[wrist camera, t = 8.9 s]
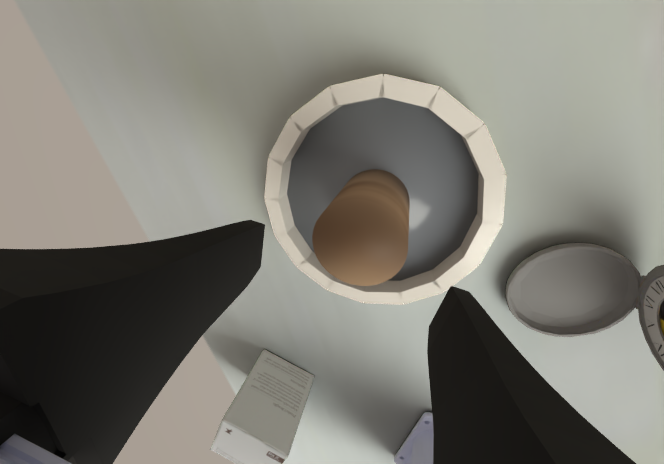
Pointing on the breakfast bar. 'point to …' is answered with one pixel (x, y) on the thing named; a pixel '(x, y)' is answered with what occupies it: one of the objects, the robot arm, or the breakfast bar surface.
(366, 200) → the walnut cylinder
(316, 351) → the breakfast bar surface
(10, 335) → the robot arm
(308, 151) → the round tray
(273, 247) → the breakfast bar surface
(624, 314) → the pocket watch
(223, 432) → the skincare box
